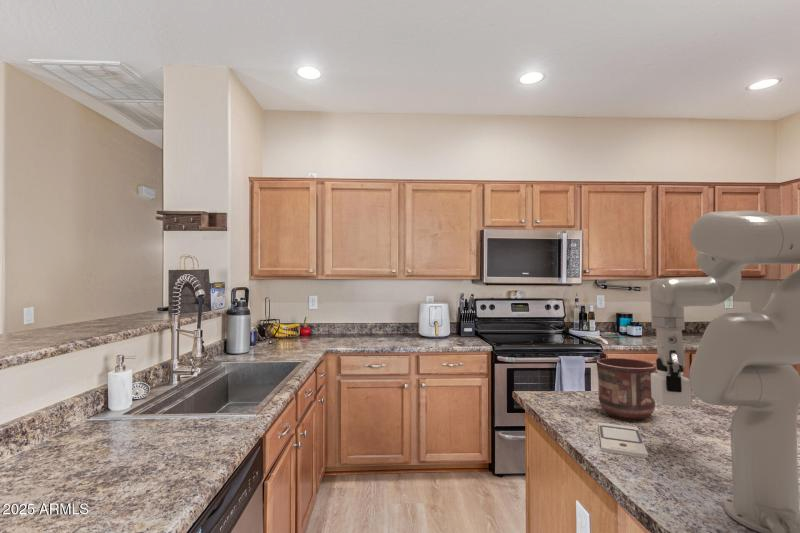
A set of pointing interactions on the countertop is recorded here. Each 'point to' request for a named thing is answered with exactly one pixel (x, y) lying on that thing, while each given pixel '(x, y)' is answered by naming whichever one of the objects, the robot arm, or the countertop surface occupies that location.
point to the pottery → (625, 388)
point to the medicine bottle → (665, 396)
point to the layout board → (621, 440)
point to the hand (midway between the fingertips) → (670, 387)
